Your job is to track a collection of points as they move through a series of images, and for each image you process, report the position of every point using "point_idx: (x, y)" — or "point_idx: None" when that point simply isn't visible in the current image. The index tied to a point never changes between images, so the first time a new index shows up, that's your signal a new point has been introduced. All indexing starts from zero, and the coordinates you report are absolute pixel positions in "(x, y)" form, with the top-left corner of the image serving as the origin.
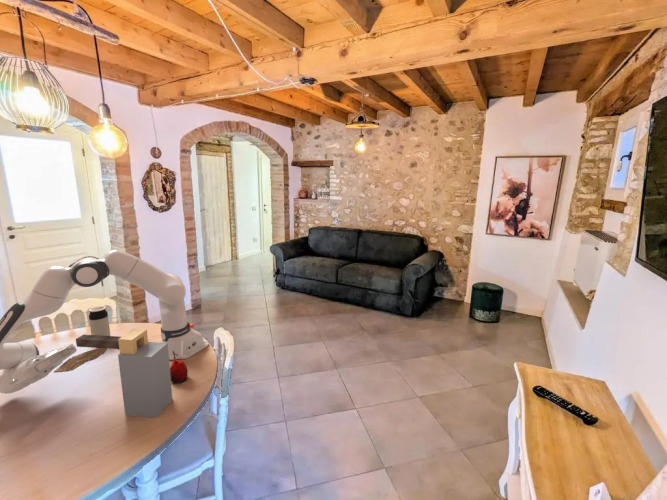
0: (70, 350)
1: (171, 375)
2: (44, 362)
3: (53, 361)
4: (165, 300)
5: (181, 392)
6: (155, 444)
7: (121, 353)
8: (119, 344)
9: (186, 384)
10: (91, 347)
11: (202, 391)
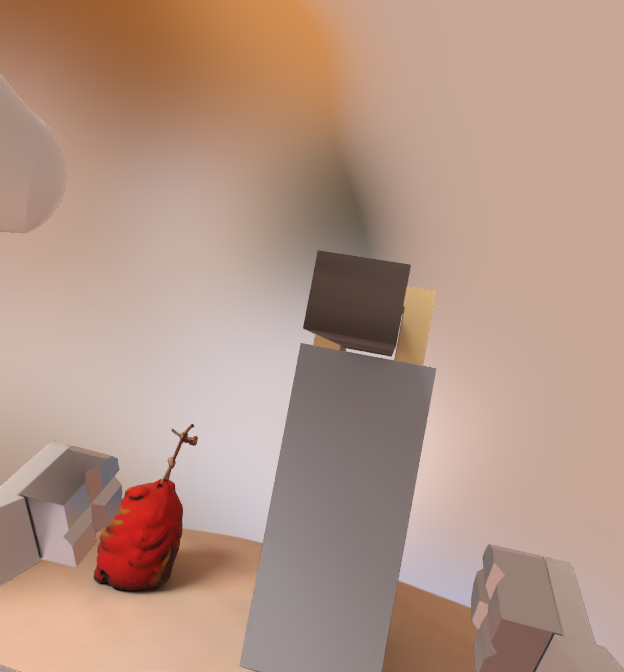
0: (92, 518)
1: (166, 549)
2: (588, 644)
3: (479, 583)
4: (39, 193)
5: (235, 575)
6: None
7: (422, 365)
8: (431, 318)
9: (184, 564)
10: (393, 350)
11: (244, 543)
